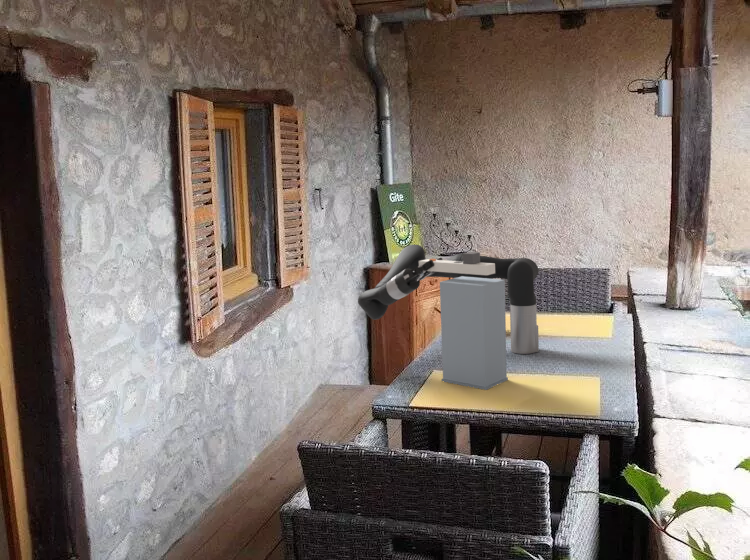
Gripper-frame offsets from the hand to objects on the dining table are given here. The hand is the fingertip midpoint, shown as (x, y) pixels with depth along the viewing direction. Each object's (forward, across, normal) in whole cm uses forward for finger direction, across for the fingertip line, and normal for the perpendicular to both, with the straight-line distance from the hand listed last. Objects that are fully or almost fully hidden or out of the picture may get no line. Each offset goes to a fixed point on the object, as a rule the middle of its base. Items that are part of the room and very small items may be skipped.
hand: (437, 261), depth 246 cm
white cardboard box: (+5, 0, -6) cm, 8 cm away
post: (-7, 0, -39) cm, 40 cm away
